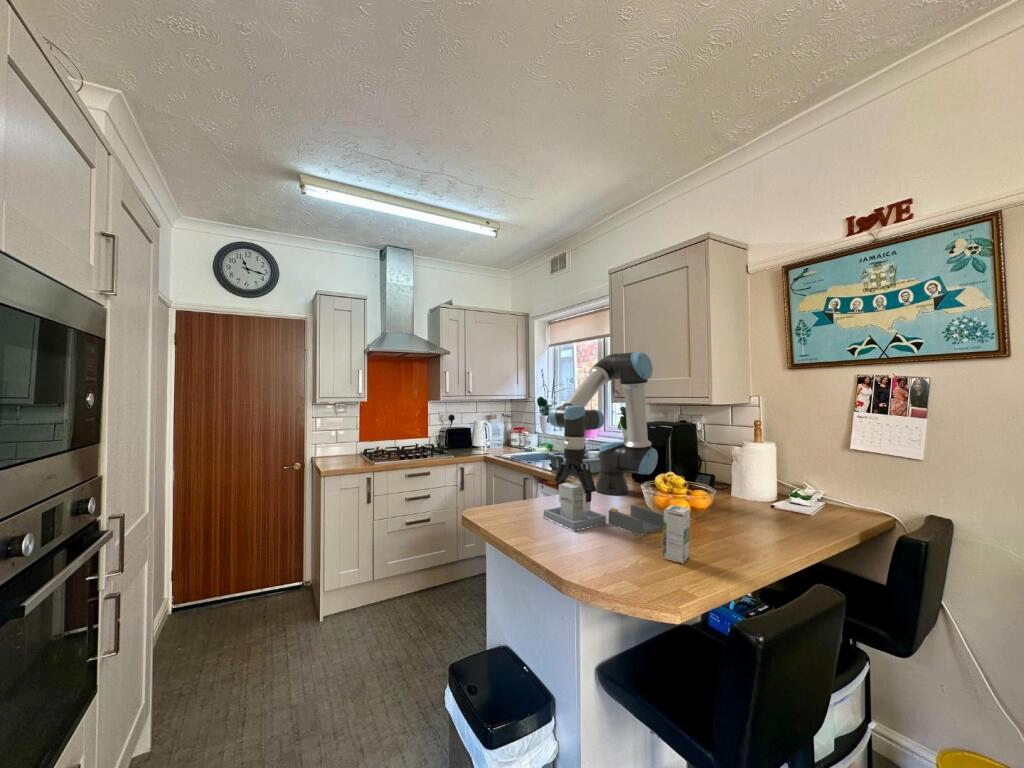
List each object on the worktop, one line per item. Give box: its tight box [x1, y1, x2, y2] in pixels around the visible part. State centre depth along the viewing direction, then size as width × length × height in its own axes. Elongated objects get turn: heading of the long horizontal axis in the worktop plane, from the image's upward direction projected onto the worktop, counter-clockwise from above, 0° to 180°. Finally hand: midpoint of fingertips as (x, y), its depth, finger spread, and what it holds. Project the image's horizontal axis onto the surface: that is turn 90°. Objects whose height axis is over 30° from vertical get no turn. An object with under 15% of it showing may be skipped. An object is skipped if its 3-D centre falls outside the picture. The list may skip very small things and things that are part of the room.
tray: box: [543, 506, 607, 530], centre depth 152 cm, size 15×17×3 cm
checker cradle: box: [608, 504, 664, 535], centre depth 146 cm, size 13×14×6 cm
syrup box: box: [662, 505, 691, 562], centre depth 119 cm, size 6×6×14 cm
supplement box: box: [560, 481, 588, 521], centre depth 152 cm, size 7×7×13 cm
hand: (574, 505), depth 152 cm, fingers open, 13 cm apart
